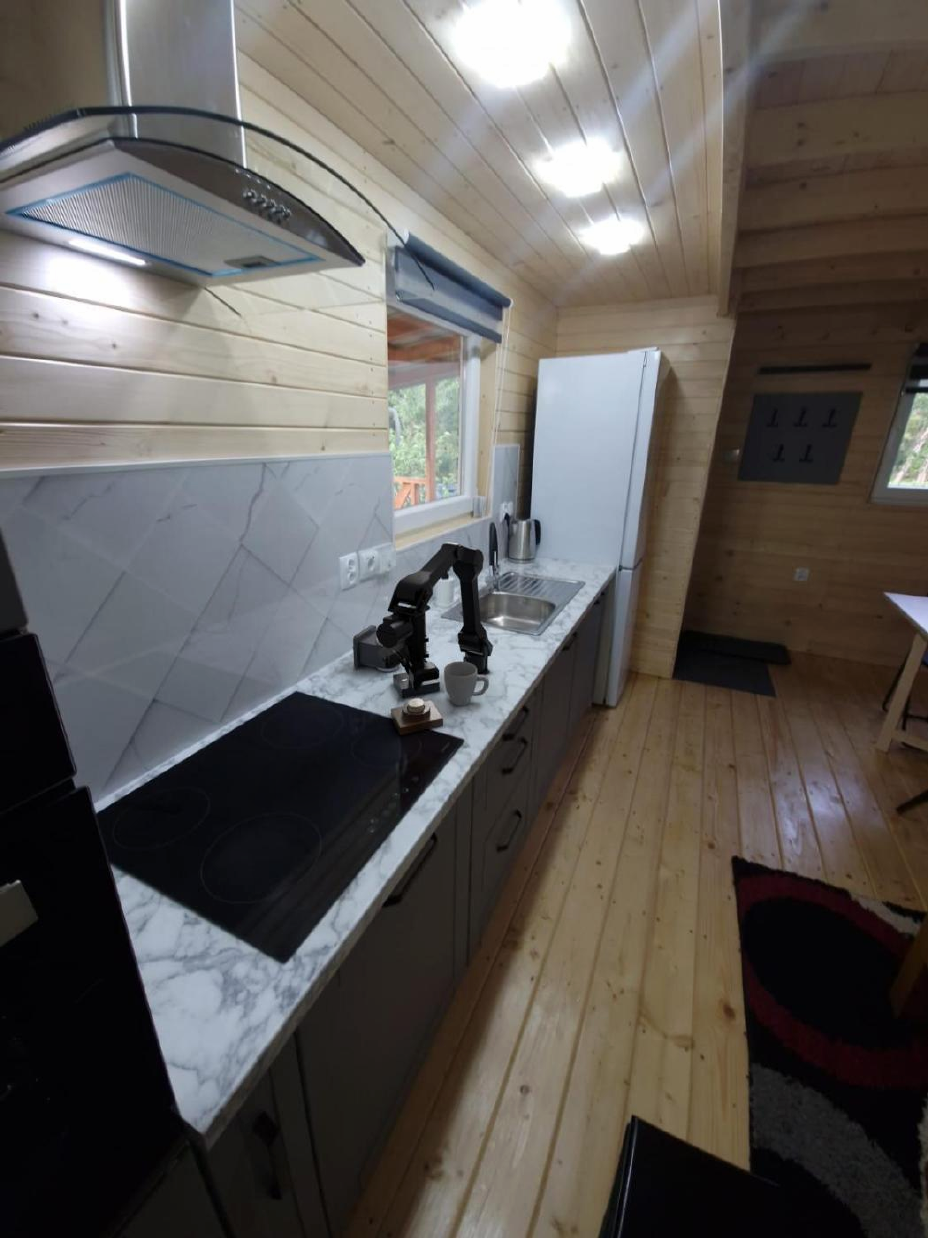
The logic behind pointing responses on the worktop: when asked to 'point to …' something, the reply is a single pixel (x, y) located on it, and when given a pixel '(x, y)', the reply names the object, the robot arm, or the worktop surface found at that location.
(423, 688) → the dimmer panel
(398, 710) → the switch block
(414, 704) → the button
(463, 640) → the robot arm
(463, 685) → the mug
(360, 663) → the light fixture
